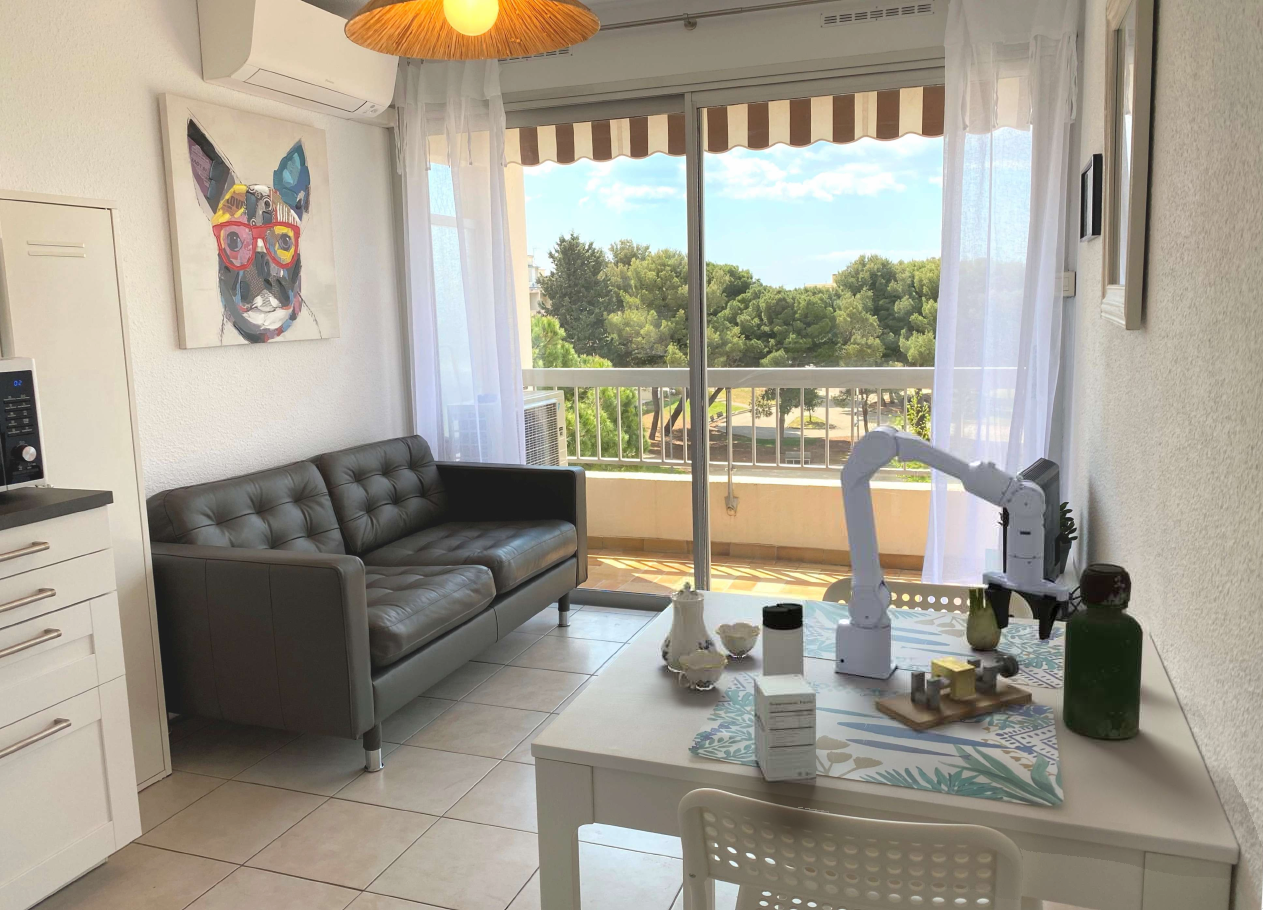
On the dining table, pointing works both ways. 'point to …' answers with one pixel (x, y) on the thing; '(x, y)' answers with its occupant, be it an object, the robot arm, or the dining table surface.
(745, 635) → the chinaware
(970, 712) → the shaft bracket
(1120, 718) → the green bottle
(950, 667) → the spacer
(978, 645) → the fennel bulb
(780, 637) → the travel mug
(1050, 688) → the dining table surface
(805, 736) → the supplement box
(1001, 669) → the shaft
